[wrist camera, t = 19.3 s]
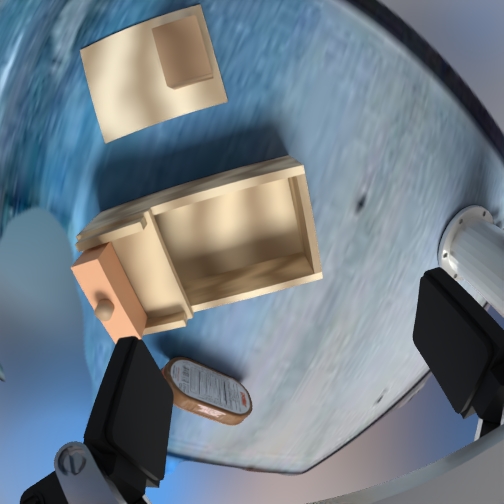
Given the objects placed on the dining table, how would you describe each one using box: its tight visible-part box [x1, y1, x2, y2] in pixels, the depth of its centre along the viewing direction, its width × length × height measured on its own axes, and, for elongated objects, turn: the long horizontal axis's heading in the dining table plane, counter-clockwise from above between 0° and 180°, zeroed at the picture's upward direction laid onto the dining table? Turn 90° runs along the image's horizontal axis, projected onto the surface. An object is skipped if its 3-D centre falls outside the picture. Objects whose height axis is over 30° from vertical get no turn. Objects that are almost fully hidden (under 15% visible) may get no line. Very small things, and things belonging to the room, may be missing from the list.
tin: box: [160, 357, 252, 425], centre depth 40 cm, size 15×3×8 cm, turn 52°
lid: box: [80, 4, 228, 144], centre depth 23 cm, size 14×12×6 cm
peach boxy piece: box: [71, 242, 148, 344], centre depth 26 cm, size 3×9×5 cm, turn 14°
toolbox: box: [75, 155, 323, 335], centre depth 30 cm, size 22×12×8 cm, turn 104°
